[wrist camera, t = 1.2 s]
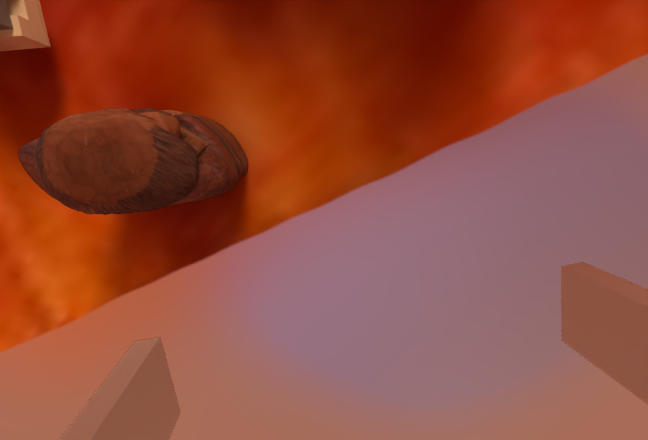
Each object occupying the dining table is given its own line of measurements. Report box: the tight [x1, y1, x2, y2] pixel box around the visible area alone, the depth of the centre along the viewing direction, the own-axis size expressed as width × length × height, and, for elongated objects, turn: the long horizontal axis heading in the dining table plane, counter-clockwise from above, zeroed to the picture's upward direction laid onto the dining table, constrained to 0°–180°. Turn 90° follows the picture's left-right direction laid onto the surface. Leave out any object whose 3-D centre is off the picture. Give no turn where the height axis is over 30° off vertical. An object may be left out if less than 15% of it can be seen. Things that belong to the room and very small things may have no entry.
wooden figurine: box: [18, 108, 248, 215], centre depth 27 cm, size 12×6×18 cm, turn 95°
